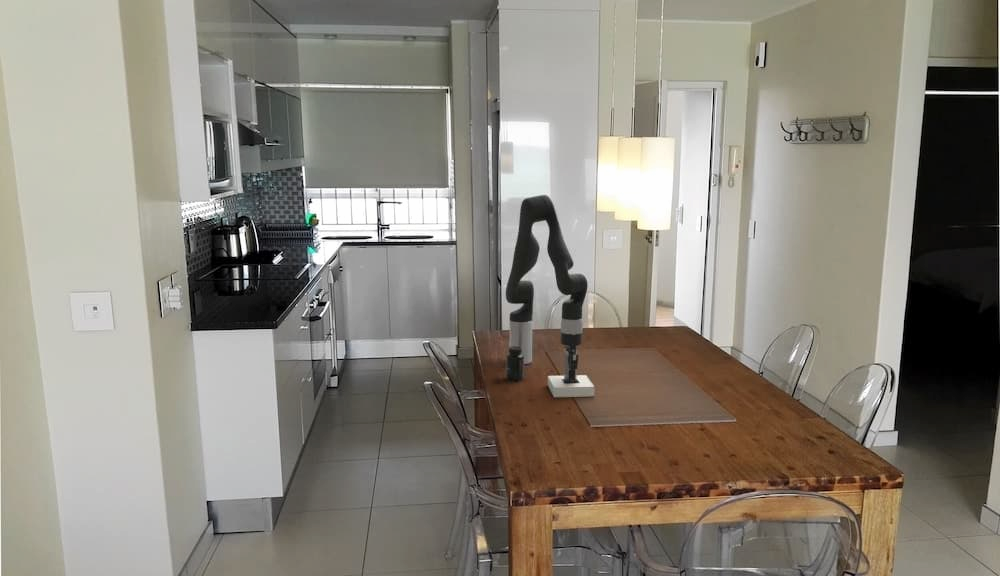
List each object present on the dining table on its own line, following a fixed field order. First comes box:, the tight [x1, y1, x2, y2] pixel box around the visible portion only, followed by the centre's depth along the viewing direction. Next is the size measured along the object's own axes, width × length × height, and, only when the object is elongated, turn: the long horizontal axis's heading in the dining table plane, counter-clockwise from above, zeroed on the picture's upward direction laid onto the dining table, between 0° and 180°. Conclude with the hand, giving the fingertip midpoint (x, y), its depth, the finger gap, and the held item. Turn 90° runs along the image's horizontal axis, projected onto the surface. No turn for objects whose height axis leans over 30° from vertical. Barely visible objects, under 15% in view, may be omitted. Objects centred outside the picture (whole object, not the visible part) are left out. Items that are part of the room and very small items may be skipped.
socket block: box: [547, 374, 595, 398], centre depth 257 cm, size 14×14×4 cm
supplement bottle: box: [505, 346, 525, 382], centre depth 271 cm, size 7×7×12 cm
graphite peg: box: [563, 353, 578, 384], centre depth 257 cm, size 4×4×12 cm
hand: (570, 377), depth 257 cm, fingers closed on graphite peg, 4 cm apart
